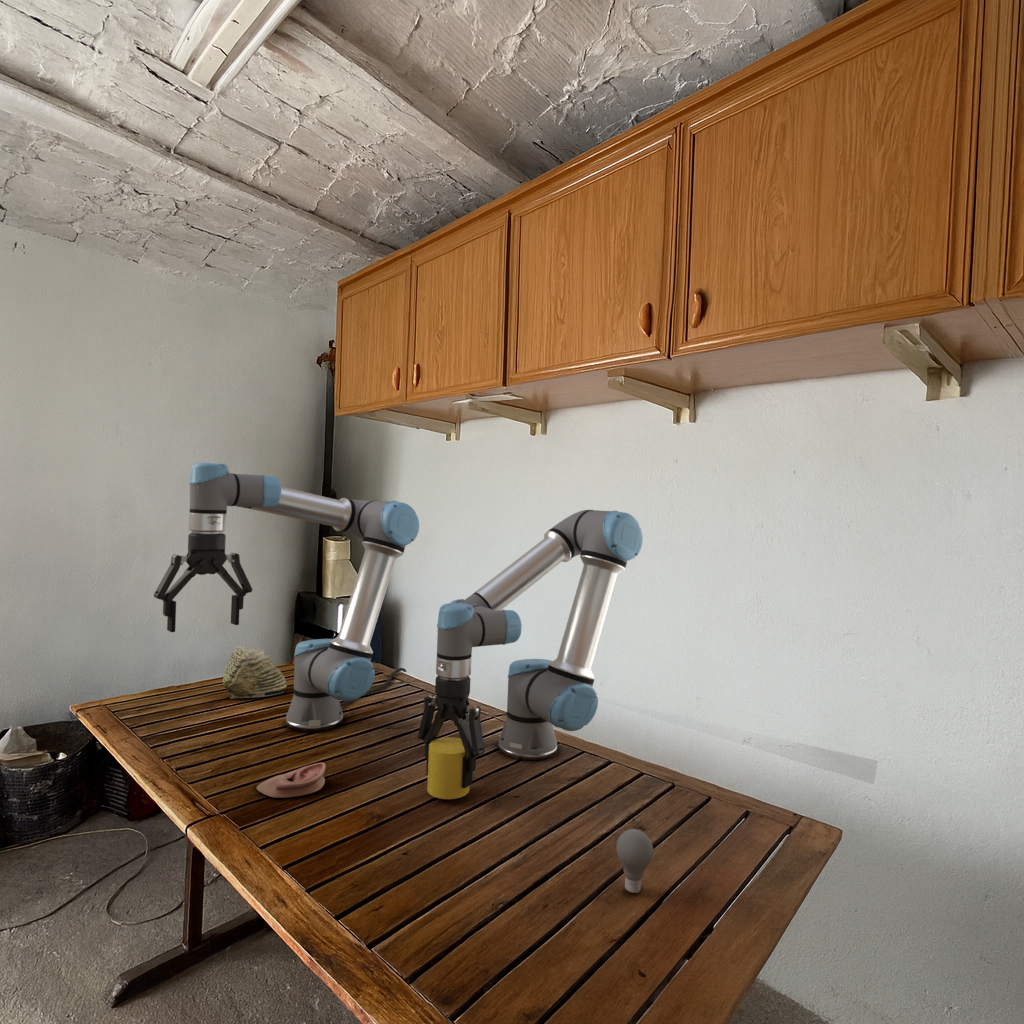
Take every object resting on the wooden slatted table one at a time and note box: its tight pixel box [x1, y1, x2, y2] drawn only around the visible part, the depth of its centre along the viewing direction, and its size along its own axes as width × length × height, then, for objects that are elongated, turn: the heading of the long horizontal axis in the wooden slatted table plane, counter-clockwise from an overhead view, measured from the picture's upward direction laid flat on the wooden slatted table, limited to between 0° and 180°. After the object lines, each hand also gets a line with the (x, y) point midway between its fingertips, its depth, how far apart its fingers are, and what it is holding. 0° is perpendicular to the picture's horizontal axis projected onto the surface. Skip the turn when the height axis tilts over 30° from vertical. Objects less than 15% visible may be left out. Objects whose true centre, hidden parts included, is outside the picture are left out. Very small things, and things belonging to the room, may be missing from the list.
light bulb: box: [615, 828, 654, 894], centre depth 106 cm, size 6×6×10 cm
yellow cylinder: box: [426, 736, 471, 800], centre depth 137 cm, size 9×9×10 cm
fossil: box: [222, 646, 288, 699], centre depth 198 cm, size 9×18×15 cm, turn 132°
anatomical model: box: [256, 762, 327, 799], centre depth 137 cm, size 13×4×12 cm
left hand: (204, 627), depth 141 cm, fingers open, 13 cm apart
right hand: (448, 779), depth 137 cm, fingers closed on yellow cylinder, 9 cm apart
